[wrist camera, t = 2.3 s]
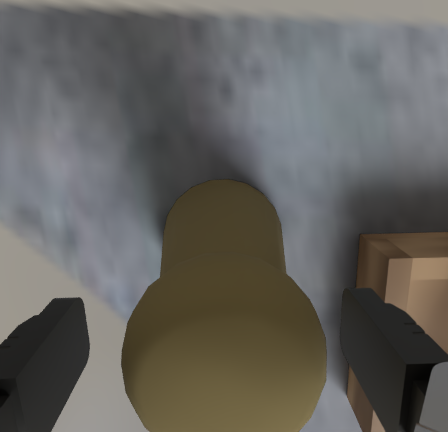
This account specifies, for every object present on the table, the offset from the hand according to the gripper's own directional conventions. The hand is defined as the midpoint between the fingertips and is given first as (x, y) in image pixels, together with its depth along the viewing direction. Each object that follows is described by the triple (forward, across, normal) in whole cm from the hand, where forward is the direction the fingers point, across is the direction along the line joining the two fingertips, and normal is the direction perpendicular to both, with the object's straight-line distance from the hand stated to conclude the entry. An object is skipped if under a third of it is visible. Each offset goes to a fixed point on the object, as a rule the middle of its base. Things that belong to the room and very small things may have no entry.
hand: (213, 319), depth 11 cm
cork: (+8, 0, 0) cm, 8 cm away
